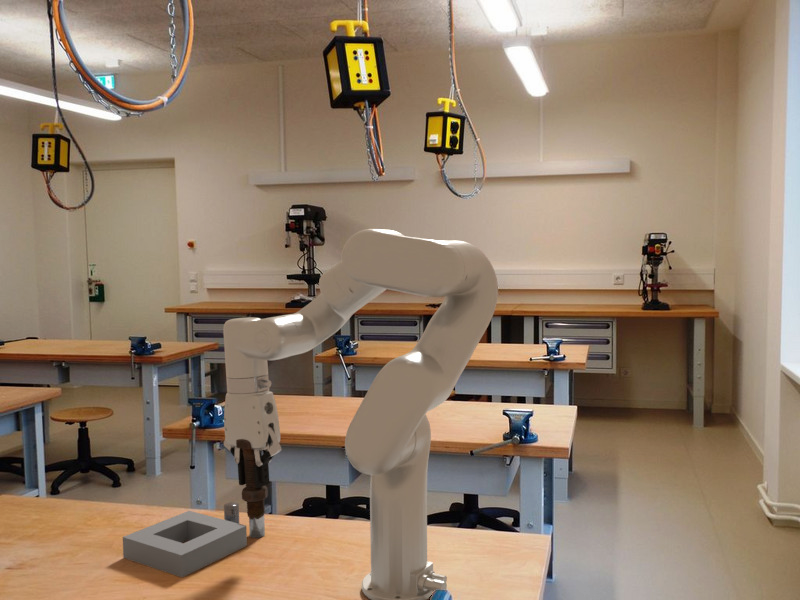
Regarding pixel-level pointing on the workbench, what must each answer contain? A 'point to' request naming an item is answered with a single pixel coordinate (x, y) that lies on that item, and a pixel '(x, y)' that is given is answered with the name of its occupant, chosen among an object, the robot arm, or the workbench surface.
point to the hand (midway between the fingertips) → (254, 483)
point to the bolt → (252, 483)
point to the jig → (171, 555)
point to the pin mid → (257, 527)
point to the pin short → (231, 512)
